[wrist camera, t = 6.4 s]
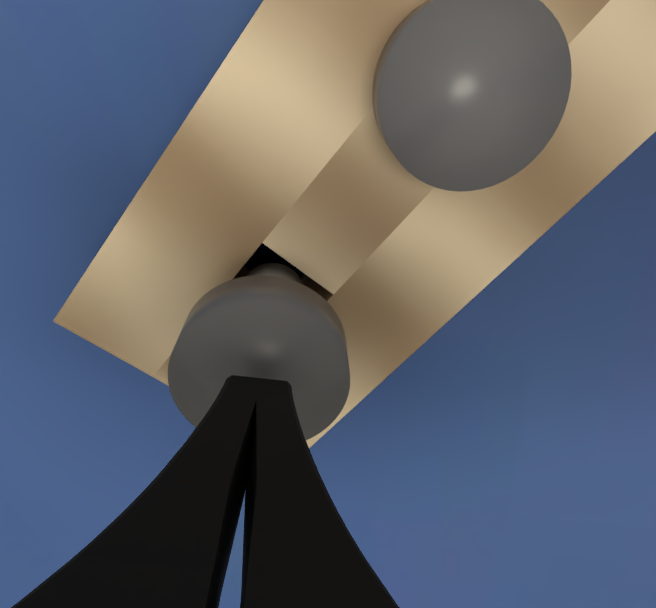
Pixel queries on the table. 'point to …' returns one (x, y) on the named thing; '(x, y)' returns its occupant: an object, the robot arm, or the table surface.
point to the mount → (349, 186)
